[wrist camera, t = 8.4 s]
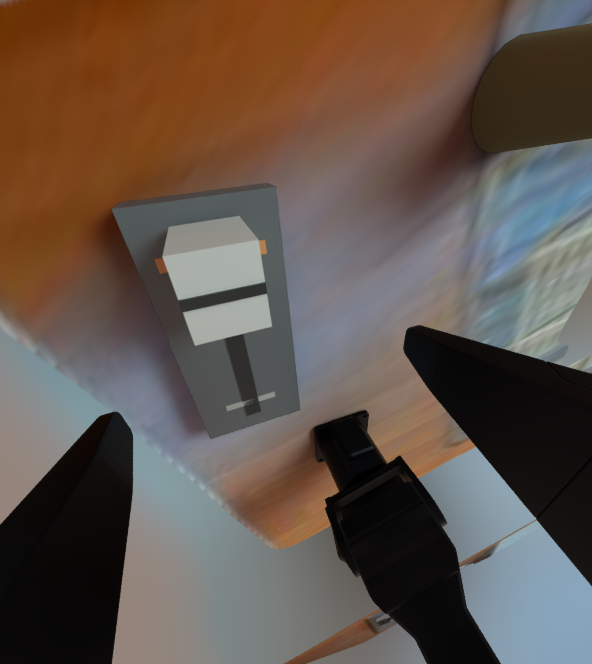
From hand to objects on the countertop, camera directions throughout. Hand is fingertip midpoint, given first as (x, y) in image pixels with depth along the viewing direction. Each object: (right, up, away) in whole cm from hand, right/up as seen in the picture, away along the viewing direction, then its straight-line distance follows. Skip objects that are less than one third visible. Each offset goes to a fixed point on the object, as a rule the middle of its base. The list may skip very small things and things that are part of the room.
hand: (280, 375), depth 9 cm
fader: (-4, +5, +7) cm, 9 cm away
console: (-4, +2, +12) cm, 13 cm away
